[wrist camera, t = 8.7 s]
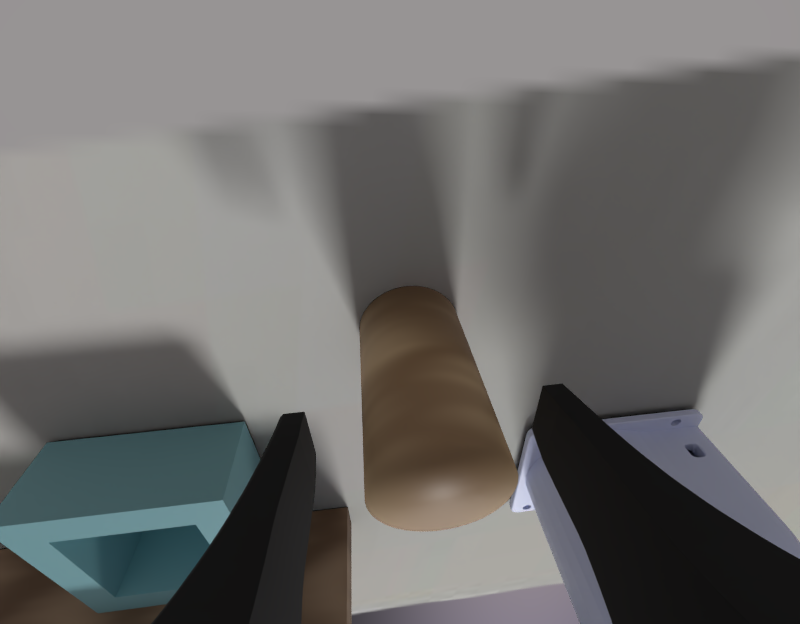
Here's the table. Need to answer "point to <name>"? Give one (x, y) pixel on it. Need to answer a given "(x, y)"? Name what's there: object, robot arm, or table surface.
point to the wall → (73, 620)
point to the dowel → (427, 418)
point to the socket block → (127, 510)
